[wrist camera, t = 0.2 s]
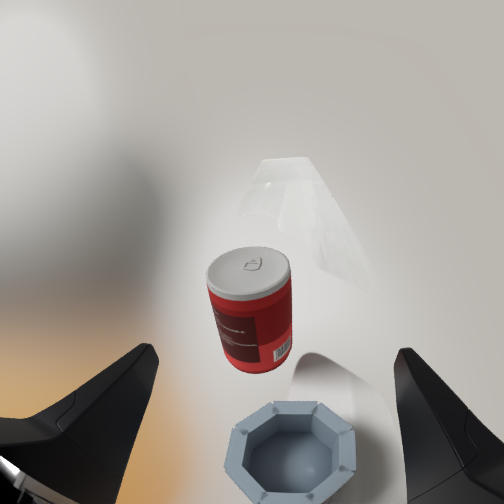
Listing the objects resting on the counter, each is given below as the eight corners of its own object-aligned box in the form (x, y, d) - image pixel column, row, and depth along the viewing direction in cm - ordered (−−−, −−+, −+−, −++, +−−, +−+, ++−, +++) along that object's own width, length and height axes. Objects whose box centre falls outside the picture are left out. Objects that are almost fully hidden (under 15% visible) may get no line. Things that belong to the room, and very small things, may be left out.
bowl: (343, 511, 13) (356, 504, 10) (228, 507, 14) (216, 500, 12) (343, 422, 20) (352, 399, 18) (245, 421, 22) (238, 398, 20)
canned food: (289, 322, 33) (286, 242, 28) (295, 373, 26) (295, 290, 21) (228, 326, 34) (211, 248, 29) (221, 377, 27) (197, 297, 22)
